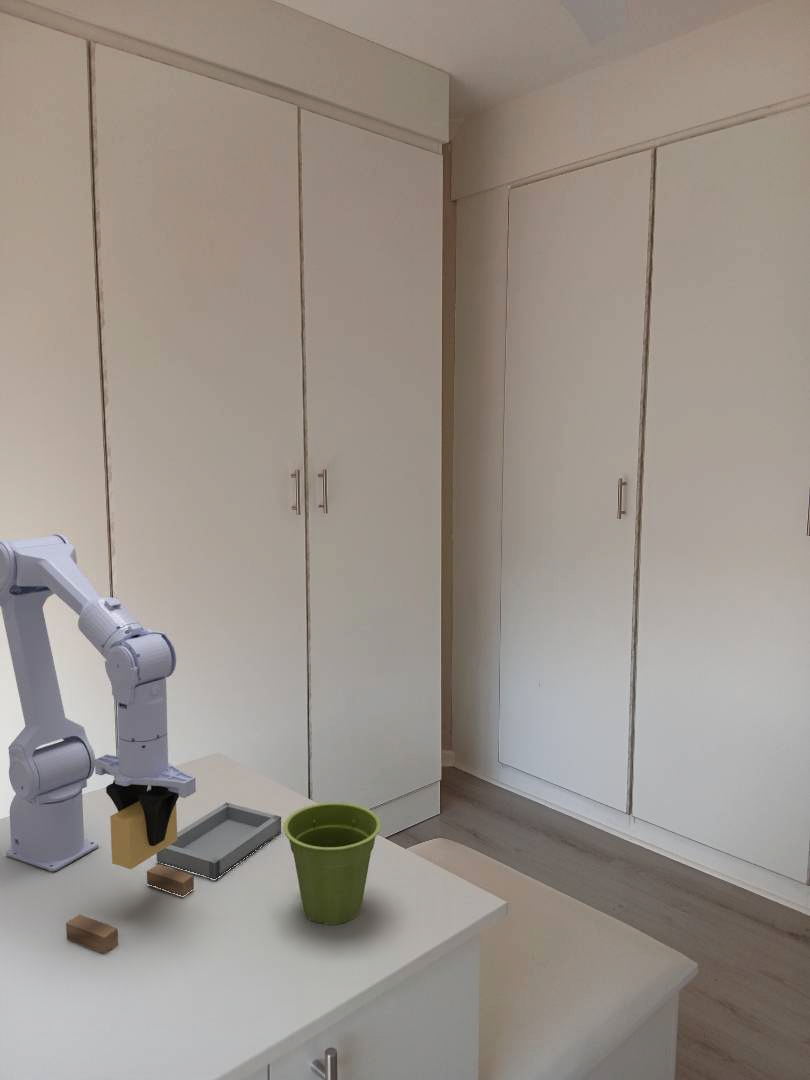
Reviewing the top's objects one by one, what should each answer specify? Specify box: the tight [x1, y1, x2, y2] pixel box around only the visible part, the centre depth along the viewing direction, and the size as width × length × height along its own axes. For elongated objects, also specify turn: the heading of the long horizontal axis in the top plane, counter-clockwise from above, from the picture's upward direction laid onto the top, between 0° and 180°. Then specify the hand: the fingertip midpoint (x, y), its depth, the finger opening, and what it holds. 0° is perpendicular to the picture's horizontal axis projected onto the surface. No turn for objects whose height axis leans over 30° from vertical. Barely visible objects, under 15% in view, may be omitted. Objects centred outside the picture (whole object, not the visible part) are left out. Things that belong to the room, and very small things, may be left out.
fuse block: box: [109, 801, 178, 870], centre depth 104 cm, size 3×8×6 cm, turn 153°
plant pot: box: [282, 802, 382, 925], centre depth 104 cm, size 12×12×11 cm
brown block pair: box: [65, 863, 195, 955], centre depth 103 cm, size 6×15×2 cm, turn 153°
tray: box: [156, 802, 282, 879], centre depth 120 cm, size 10×15×2 cm, turn 153°
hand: (146, 839), depth 105 cm, fingers closed on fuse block, 3 cm apart
